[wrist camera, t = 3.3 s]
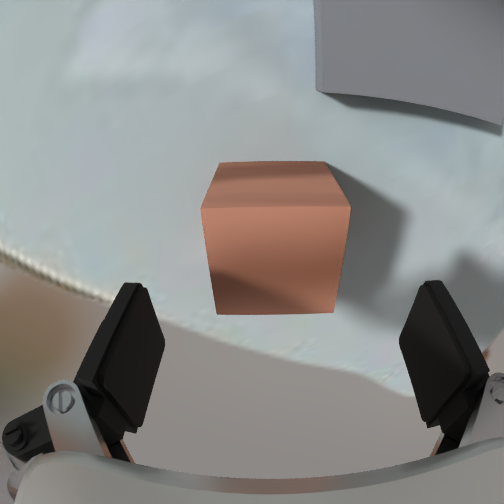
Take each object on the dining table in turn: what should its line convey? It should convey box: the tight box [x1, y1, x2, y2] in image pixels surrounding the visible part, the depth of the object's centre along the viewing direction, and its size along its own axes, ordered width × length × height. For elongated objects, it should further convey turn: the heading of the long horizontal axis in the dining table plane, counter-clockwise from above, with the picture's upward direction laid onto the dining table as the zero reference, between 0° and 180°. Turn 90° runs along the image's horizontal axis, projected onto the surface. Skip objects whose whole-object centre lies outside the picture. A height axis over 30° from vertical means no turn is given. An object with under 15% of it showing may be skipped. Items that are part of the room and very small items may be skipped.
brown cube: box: [200, 161, 351, 315], centre depth 13 cm, size 5×5×5 cm
